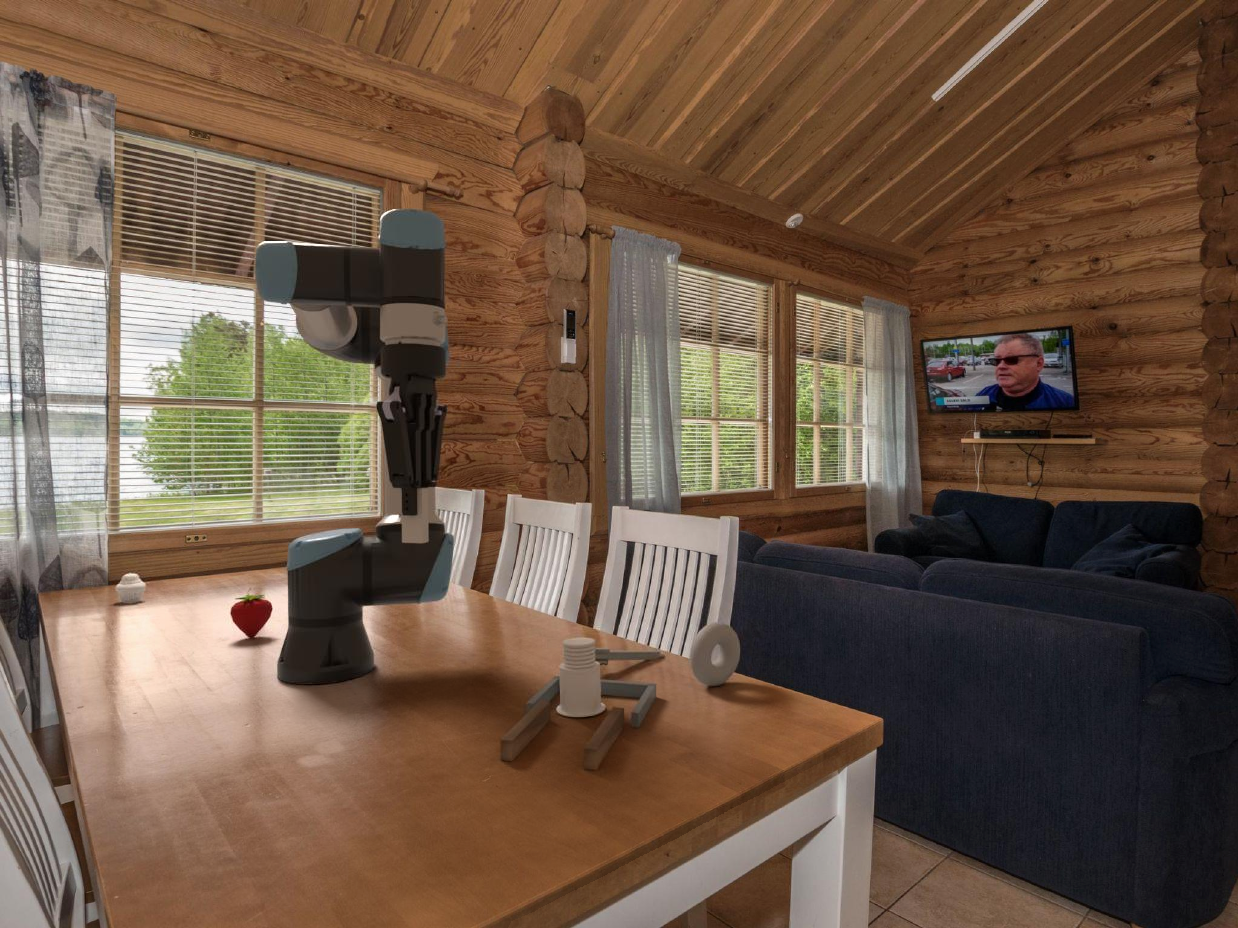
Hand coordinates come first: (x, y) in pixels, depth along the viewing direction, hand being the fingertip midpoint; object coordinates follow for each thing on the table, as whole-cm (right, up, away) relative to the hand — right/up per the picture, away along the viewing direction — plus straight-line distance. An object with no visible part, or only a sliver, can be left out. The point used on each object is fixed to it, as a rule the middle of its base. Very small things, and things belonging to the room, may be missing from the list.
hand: (415, 541), depth 91 cm
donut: (+40, -26, +28) cm, 55 cm away
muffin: (-92, -24, +89) cm, 130 cm away
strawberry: (-47, -25, +57) cm, 78 cm away
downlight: (+19, -26, +18) cm, 37 cm away
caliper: (+25, -26, +38) cm, 52 cm away
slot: (+18, -26, +6) cm, 32 cm away
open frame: (+21, -26, +18) cm, 38 cm away
